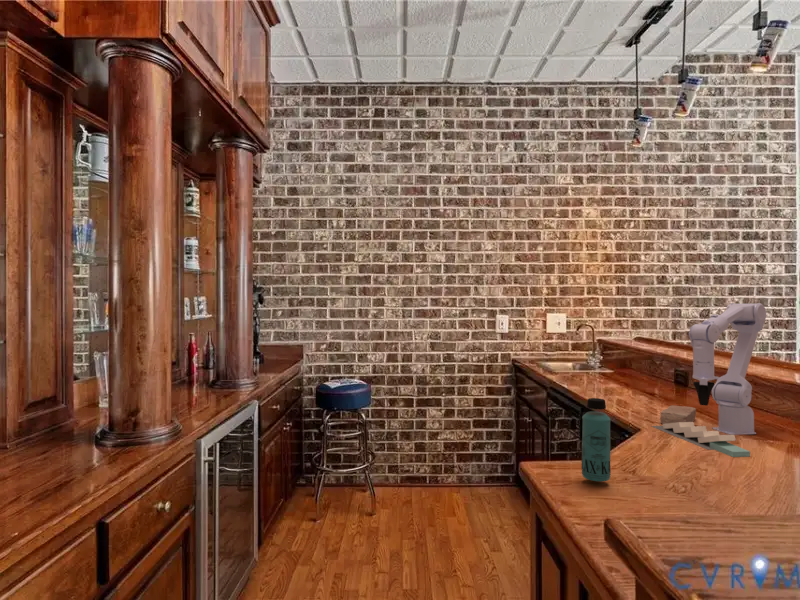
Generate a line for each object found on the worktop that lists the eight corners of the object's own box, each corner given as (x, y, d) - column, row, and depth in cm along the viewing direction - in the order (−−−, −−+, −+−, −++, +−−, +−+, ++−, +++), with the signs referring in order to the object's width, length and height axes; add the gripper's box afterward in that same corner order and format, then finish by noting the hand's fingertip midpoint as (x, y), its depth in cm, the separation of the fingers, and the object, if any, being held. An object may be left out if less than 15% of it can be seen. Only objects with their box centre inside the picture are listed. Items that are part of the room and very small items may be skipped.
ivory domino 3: (698, 431, 156) (718, 430, 148) (699, 437, 156) (719, 436, 147) (683, 432, 156) (702, 431, 147) (684, 437, 156) (704, 436, 147)
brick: (686, 427, 168) (686, 413, 168) (659, 423, 173) (659, 410, 173) (696, 420, 180) (696, 407, 180) (670, 417, 186) (670, 404, 186)
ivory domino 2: (687, 427, 162) (705, 426, 153) (688, 432, 161) (706, 431, 153) (672, 427, 161) (690, 426, 153) (673, 433, 161) (691, 431, 152)
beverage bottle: (576, 478, 120) (576, 396, 120) (603, 478, 120) (602, 395, 120) (589, 488, 113) (588, 401, 113) (617, 487, 114) (616, 401, 114)
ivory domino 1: (676, 423, 167) (693, 421, 159) (677, 428, 167) (694, 427, 158) (662, 423, 167) (678, 422, 158) (663, 428, 167) (679, 427, 158)
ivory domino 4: (712, 437, 150) (734, 434, 142) (714, 442, 150) (735, 440, 141) (697, 437, 150) (718, 435, 141) (698, 443, 149) (719, 440, 141)
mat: (675, 426, 171) (675, 425, 171) (737, 449, 143) (737, 448, 143) (650, 426, 170) (650, 426, 170) (708, 450, 142) (708, 449, 142)
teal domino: (725, 441, 145) (750, 451, 136) (725, 446, 145) (749, 457, 136) (709, 441, 145) (733, 451, 136) (709, 447, 145) (732, 457, 136)
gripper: (719, 365, 148) (719, 410, 148) (718, 360, 160) (718, 402, 160) (691, 363, 152) (691, 407, 152) (692, 359, 164) (693, 400, 164)
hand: (703, 405), depth 156 cm, fingers closed
